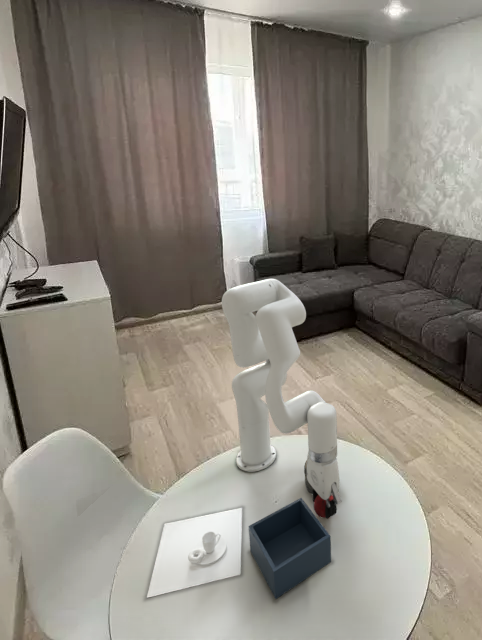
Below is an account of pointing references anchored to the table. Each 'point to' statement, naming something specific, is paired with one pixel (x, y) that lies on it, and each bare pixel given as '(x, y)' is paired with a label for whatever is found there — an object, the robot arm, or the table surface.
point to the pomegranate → (320, 506)
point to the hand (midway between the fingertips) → (324, 507)
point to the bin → (289, 546)
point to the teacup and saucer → (197, 552)
